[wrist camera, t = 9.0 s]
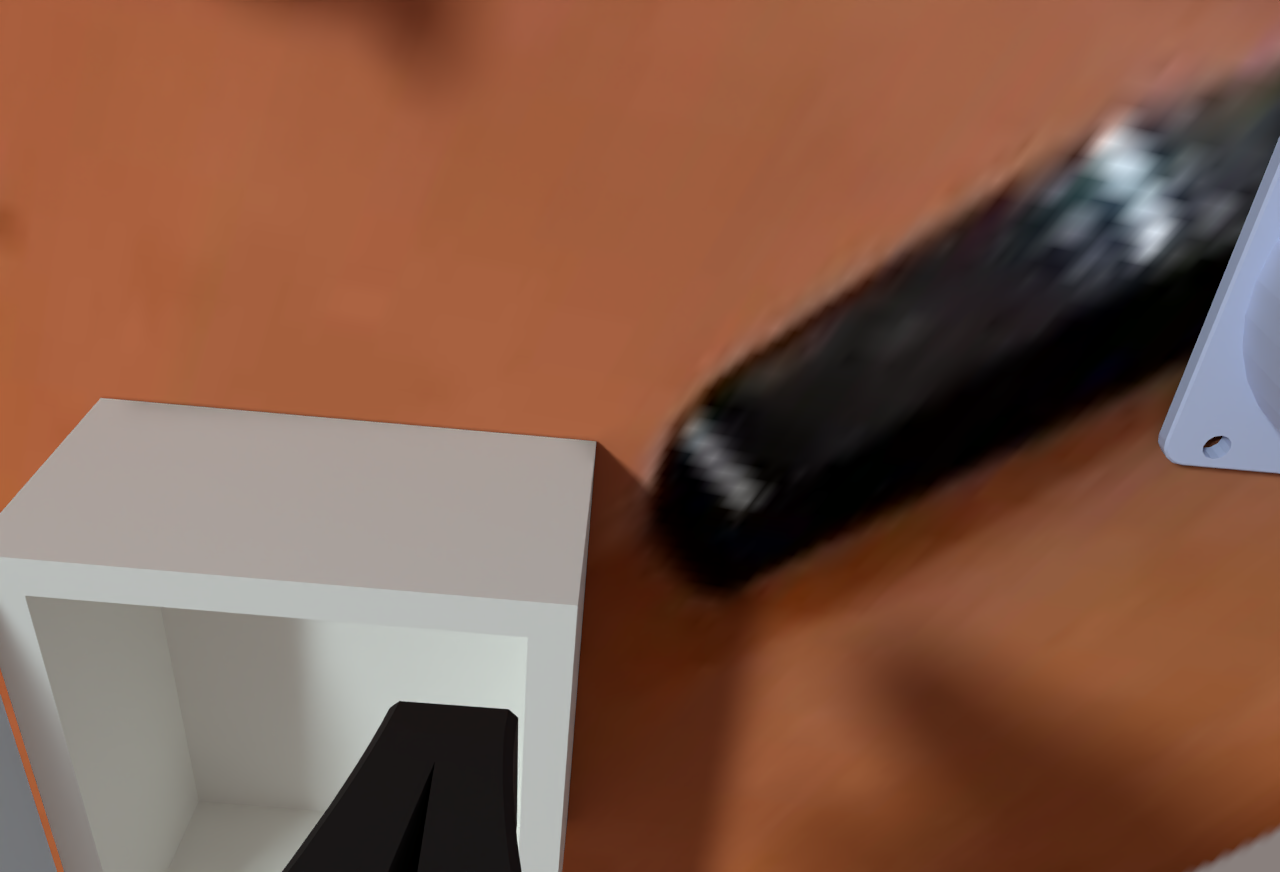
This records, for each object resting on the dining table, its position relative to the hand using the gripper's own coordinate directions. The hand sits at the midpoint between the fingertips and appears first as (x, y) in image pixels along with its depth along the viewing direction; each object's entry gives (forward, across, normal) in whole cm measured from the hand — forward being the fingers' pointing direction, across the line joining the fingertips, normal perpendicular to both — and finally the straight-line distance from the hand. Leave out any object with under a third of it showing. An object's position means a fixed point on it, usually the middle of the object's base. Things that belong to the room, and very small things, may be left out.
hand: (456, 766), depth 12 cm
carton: (+10, +4, +8) cm, 14 cm away
